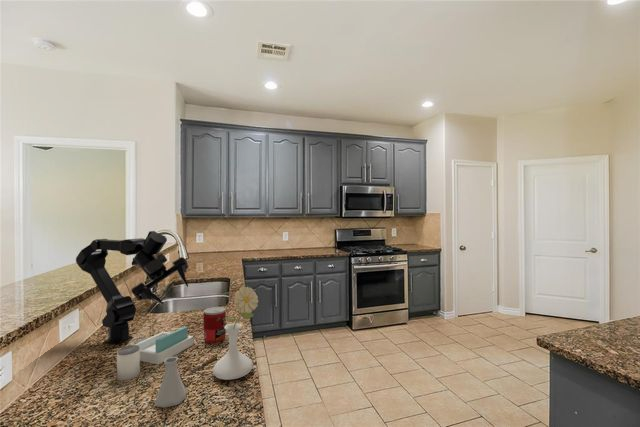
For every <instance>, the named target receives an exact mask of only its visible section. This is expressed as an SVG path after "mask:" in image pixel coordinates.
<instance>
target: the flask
mask: <svg viewBox="0 0 640 427" xmlns="http://www.w3.org/2000/svg"><path fill="white" fill-rule="evenodd" d="M178 359H179V357H178V356H173V357H169V358H167V359H165V360H164V362H163V364H164V365H165V366H164V369H165V370H164V375H163V379H162V381H161V384H160V387H159V390H158V393H157V396H156V398H155V402H154V407H157V408H158V407H159V408H169V407H175V406H177V405H180V403H182V402H183V401H184V400H185V399H186V398H187V389H186V386H185V385H184V383H183V381H182V378H181V376H180V373H179V371H178V370H179V369H178V363H177V362H178Z"/></svg>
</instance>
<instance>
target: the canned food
mask: <svg viewBox="0 0 640 427" xmlns="http://www.w3.org/2000/svg"><path fill="white" fill-rule="evenodd" d="M226 316H227V315H226V308H225V307H222V306H212V307H208V308H205V309H204V310H203V341H204V342H205V343H208V344H216V343H219V342H223V341H224V340H225V339H226V333H227V331H226V329H225V328H224V326H226V325H227V324H226V321H227V320H226Z"/></svg>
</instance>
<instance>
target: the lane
mask: <svg viewBox="0 0 640 427" xmlns="http://www.w3.org/2000/svg"><path fill="white" fill-rule="evenodd" d="M170 333H171V332H170V331H169V332H167V331H161V332H159V333H158V334H155V335H153V336H150V337H149V338H147V337H143V338H141V339H139V340H137V341H135V342H133V343H134V344H133V345H138V346H139V348H140V362H144V363H149V364H153V365H159V364H161V363H162V364H163V363H164V360H165V359H167V358H169V357H175V356H176V355H178V354H180V353H181V352H183V351H185V350H187V349H188V348H191V347H192V346H194V335H189V334H188V338H186V339H184V340H183V341H181V342H179V343H177V344H175V345H173V346H171V347H169V348H167V349H165V350H163V351H161V352H159V353H156V340H157V339H159V338H161V337H163V336H165V335H168V334H170Z"/></svg>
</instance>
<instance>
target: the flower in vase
mask: <svg viewBox="0 0 640 427" xmlns="http://www.w3.org/2000/svg"><path fill="white" fill-rule="evenodd" d="M234 293H235V294H234V298H233V300H234V303H233V304H234V306H235V307H236V308H237V309H238V311H239V315H238V316H237V318H234V317H228V316H227V315H226V319H227V320H230V321H235V322H232V323H228V324H226V326H224V328H225V329H226V333H227V337H228V344H229V345H228V346H229V347H228V351H227V353H225V355H224V356H222V357H221V358H220V359H219V360H218V361H217V362H216V363H215V364H214V365H213V369H212V374H213V375H214V377H216V378H218V379H219V380H226V381H227V380H228V381H229V380H236V379H240V378H242V377H245V376H247V375H248V374H249V373H250V372H252V370H253V367H254V363H253V361H252V359H251V358H249V356H247V355H246V354H244V353H242V352H240V351H239V349H238V348H239V347H238V336H239V332H240V330H241V328H242V326H243V325H242V323H240V322H239V323H238V321H239V319H240V317H241V318H243V319H244V320H249V319H251V318H252V317H254V316H255V315H254V313H253V311H254V310H256V308H257V307H259V306H258V303H259V300H258V298H259V296H258V295H257V294H256V291H254V289H253V288H252V287H249V286H246V287H245V286H241V287H239V290H236V291H235V292H234Z"/></svg>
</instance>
